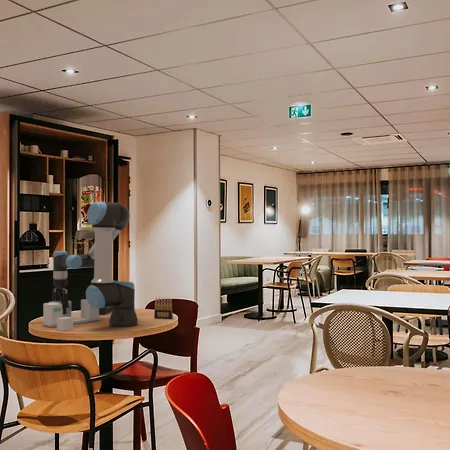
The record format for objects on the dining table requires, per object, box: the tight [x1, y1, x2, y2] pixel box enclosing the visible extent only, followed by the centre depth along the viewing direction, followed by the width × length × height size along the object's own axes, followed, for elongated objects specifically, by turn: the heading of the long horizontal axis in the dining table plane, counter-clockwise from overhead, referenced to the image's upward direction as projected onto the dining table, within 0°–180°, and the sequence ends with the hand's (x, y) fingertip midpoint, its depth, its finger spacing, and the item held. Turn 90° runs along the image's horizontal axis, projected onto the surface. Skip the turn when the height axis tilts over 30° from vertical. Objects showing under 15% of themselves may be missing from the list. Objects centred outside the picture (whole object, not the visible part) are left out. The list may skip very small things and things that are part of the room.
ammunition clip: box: [153, 297, 174, 320], centre depth 293 cm, size 11×2×12 cm, turn 74°
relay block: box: [56, 316, 74, 332], centre depth 259 cm, size 5×6×6 cm
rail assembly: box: [42, 298, 100, 329], centre depth 278 cm, size 10×28×12 cm, turn 135°
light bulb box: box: [48, 300, 72, 317], centre depth 288 cm, size 11×7×11 cm, turn 143°
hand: (60, 319), depth 288 cm, fingers closed on light bulb box, 7 cm apart
